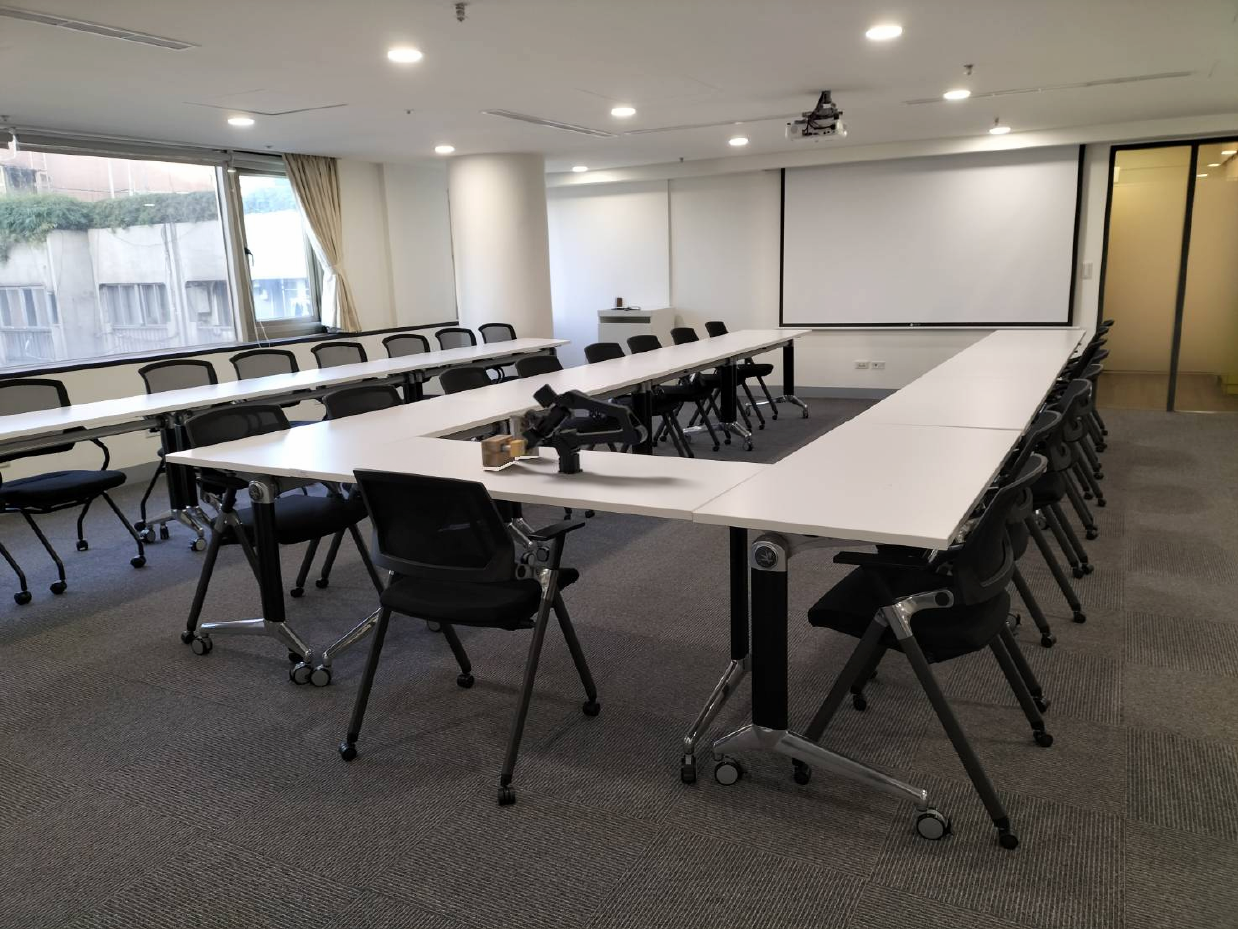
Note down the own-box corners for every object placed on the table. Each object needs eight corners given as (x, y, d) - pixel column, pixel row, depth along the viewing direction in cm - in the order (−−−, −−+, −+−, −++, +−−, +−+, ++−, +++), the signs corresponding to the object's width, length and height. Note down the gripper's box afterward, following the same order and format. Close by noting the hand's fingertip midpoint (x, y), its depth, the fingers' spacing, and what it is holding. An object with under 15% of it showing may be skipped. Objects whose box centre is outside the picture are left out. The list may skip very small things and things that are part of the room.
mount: (517, 464, 314) (516, 435, 312) (501, 471, 302) (499, 441, 300) (500, 463, 317) (498, 434, 315) (483, 470, 305) (481, 441, 303)
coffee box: (535, 455, 330) (532, 413, 327) (539, 458, 324) (537, 415, 321) (511, 458, 327) (508, 415, 324) (515, 460, 321) (512, 417, 318)
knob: (524, 454, 305) (523, 440, 304) (518, 457, 301) (517, 442, 300) (506, 453, 308) (505, 439, 307) (499, 456, 303) (498, 442, 302)
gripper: (549, 398, 305) (522, 428, 311) (525, 405, 288) (497, 437, 294) (571, 421, 304) (543, 451, 310) (548, 429, 287) (520, 461, 293)
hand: (526, 449), depth 302 cm, fingers closed
